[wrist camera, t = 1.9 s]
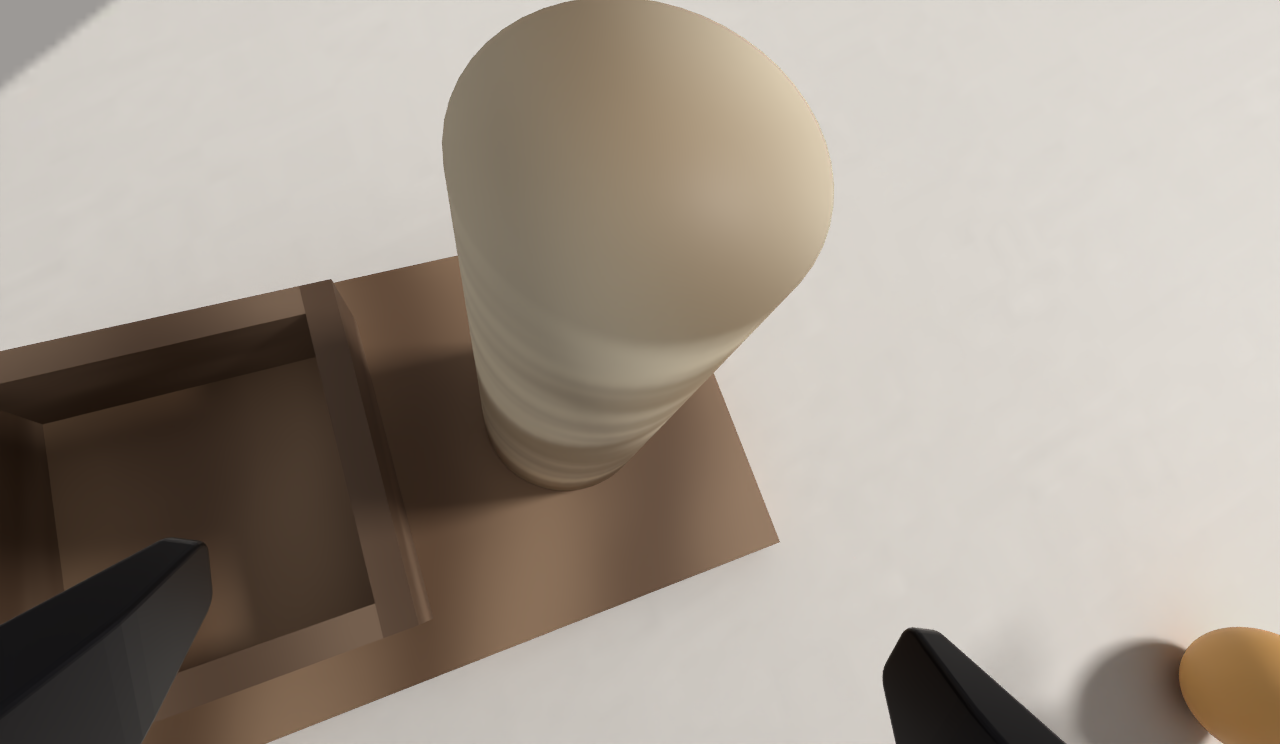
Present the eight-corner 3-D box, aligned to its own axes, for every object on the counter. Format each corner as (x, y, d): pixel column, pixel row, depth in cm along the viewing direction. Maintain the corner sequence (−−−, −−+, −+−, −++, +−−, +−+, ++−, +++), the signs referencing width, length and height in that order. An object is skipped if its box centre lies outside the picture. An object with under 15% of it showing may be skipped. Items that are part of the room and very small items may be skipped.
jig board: (59, 819, 16) (-88, 896, 12) (7, 374, 19) (-127, 320, 15) (765, 544, 21) (823, 535, 18) (644, 230, 24) (670, 162, 20)
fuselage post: (539, 523, 19) (591, 420, 7) (453, 384, 20) (363, 73, 8) (674, 435, 21) (905, 225, 9) (589, 309, 22) (691, -46, 9)
